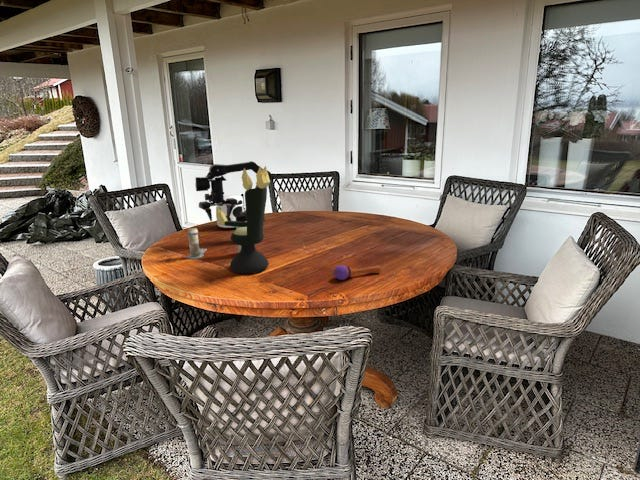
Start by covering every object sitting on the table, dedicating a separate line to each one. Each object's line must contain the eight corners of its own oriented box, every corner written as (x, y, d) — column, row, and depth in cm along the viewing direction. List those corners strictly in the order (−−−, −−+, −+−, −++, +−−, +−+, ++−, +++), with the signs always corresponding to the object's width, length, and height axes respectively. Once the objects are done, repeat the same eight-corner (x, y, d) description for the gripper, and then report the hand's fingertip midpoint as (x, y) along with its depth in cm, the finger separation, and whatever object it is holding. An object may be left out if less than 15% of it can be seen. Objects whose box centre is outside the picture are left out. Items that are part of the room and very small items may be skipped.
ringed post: (202, 254, 204) (199, 228, 200) (196, 257, 199) (193, 230, 196) (193, 253, 205) (190, 227, 202) (187, 256, 201) (184, 230, 197)
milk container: (212, 227, 256) (209, 197, 251) (236, 222, 268) (234, 194, 262) (226, 232, 244) (224, 201, 239) (252, 226, 255) (249, 197, 250)
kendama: (383, 266, 172) (338, 270, 165) (380, 279, 175) (336, 283, 167) (376, 259, 177) (332, 263, 170) (373, 271, 180) (330, 275, 172)
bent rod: (207, 250, 211) (206, 248, 211) (201, 253, 207) (201, 251, 206) (194, 249, 213) (194, 247, 213) (189, 252, 209) (188, 250, 208)
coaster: (207, 254, 205) (206, 253, 205) (197, 259, 198) (197, 258, 198) (192, 253, 207) (192, 252, 207) (183, 258, 200) (183, 257, 200)
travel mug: (249, 256, 201) (246, 215, 195) (236, 255, 202) (233, 214, 197) (254, 252, 207) (251, 212, 201) (241, 251, 208) (238, 212, 202)
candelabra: (252, 258, 198) (245, 161, 185) (287, 267, 184) (282, 163, 172) (220, 269, 184) (210, 165, 171) (254, 280, 171) (246, 168, 158)
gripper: (228, 185, 225) (230, 214, 230) (193, 189, 215) (196, 219, 220) (236, 188, 216) (238, 218, 221) (201, 192, 206) (204, 223, 211)
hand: (219, 219), depth 218 cm, fingers open, 9 cm apart
